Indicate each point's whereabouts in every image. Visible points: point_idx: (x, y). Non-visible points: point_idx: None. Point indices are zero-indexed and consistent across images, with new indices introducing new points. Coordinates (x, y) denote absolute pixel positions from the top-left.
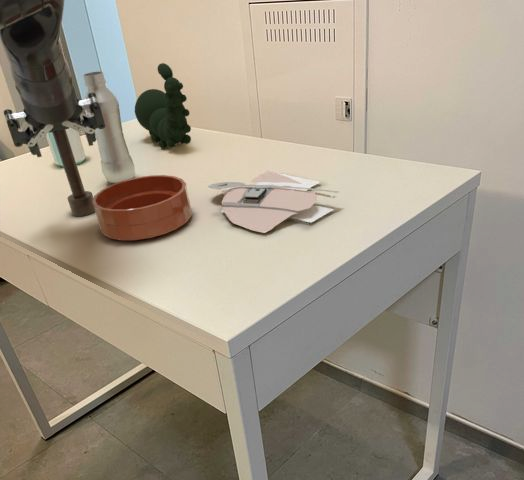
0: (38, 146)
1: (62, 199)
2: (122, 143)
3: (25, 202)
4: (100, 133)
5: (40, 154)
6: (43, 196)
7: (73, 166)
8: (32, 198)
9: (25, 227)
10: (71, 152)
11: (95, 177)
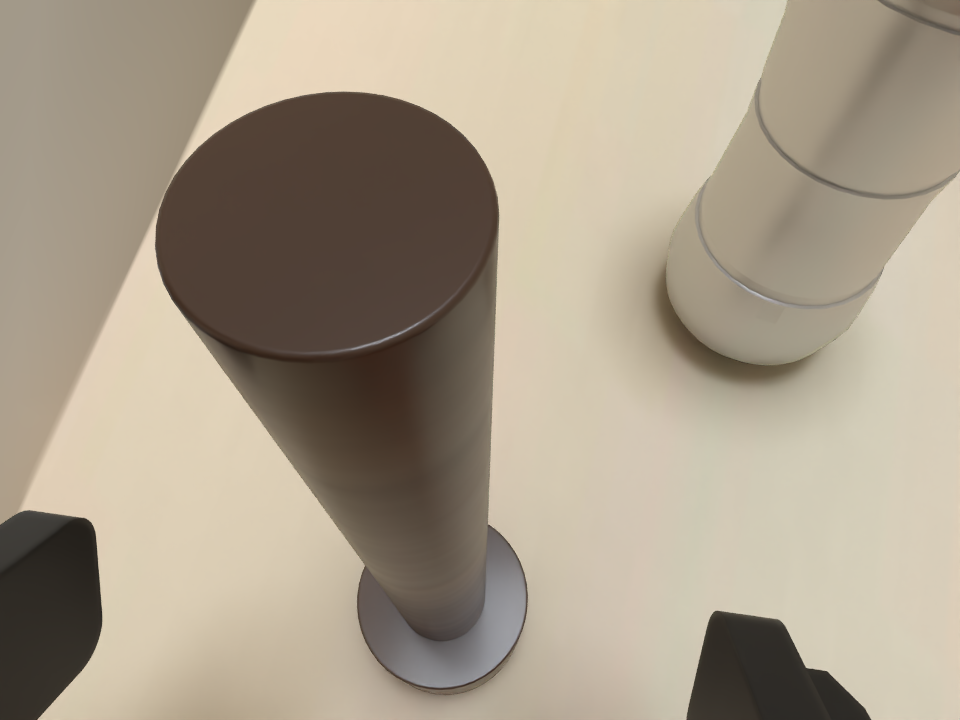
0: (53, 582)
1: None
2: (914, 218)
3: None
4: (818, 133)
5: (47, 699)
6: None
7: (446, 605)
8: None
9: None
10: (468, 567)
11: (623, 158)
